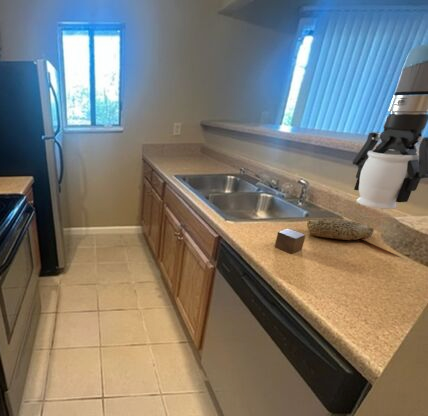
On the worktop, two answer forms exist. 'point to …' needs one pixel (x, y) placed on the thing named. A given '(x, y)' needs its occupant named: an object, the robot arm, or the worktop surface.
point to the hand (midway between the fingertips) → (378, 195)
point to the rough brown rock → (339, 229)
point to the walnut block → (290, 241)
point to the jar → (383, 178)
